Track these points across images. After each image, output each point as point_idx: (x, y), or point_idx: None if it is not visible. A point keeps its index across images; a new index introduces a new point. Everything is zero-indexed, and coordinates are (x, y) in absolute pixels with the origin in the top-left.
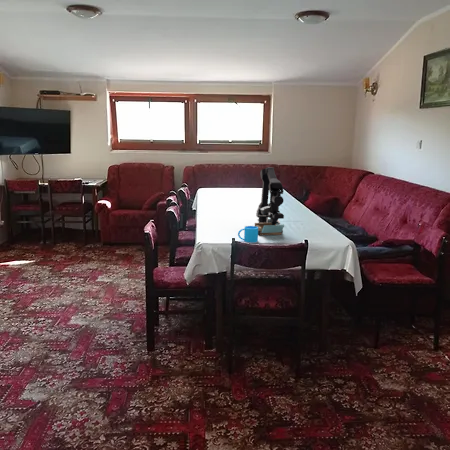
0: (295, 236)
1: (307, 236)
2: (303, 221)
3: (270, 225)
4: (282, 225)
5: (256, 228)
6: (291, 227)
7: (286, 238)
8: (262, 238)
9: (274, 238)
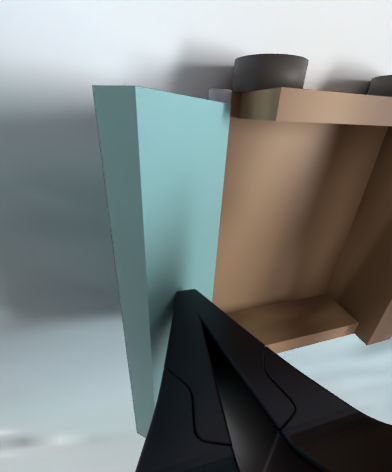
0: (126, 390)
1: (120, 442)
2: (385, 413)
3: (140, 272)
4: (145, 426)
5: None
6: (335, 376)
7: (50, 333)
8: (27, 37)
9: (41, 222)
